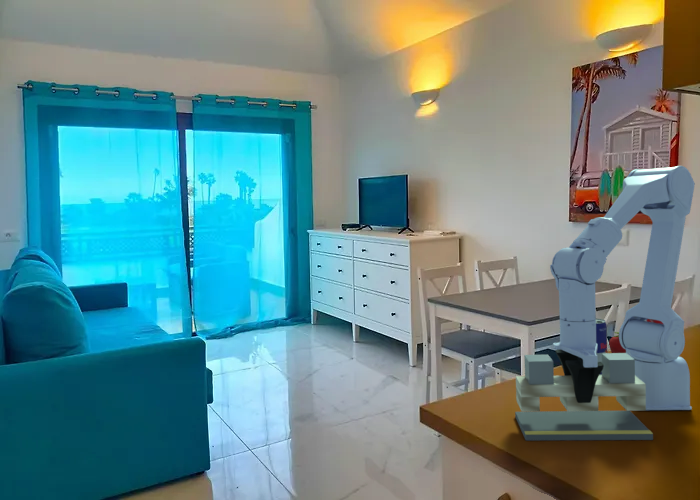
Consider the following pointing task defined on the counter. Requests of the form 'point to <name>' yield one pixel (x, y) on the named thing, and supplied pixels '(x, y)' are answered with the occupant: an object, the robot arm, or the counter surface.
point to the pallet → (528, 396)
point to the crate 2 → (618, 368)
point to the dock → (582, 425)
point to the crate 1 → (539, 369)
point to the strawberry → (616, 345)
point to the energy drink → (601, 338)
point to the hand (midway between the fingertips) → (579, 396)
